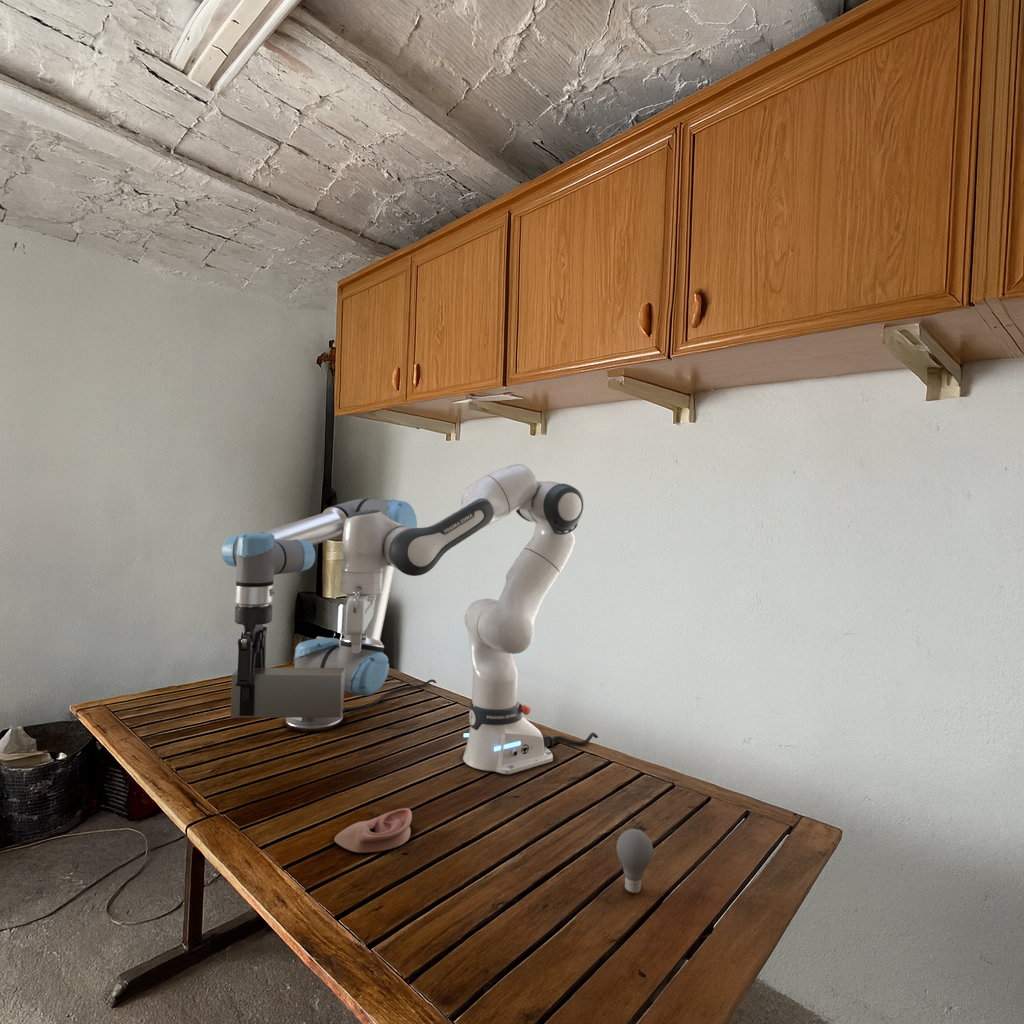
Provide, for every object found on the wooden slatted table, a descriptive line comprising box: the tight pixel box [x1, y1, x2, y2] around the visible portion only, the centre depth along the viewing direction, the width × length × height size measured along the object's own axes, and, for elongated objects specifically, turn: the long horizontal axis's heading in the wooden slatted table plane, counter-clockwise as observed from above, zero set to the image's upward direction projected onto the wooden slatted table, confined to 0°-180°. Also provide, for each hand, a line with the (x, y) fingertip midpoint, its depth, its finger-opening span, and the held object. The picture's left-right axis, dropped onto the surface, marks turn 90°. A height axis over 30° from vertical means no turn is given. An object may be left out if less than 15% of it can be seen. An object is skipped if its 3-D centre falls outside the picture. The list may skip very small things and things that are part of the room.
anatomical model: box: [333, 807, 413, 854], centre depth 119 cm, size 13×4×12 cm
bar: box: [230, 667, 345, 719], centre depth 139 cm, size 23×5×9 cm, turn 97°
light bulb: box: [615, 828, 654, 894], centre depth 106 cm, size 6×6×10 cm
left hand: (250, 710), depth 138 cm, fingers closed on bar, 5 cm apart
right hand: (359, 647), depth 138 cm, fingers open, 8 cm apart
